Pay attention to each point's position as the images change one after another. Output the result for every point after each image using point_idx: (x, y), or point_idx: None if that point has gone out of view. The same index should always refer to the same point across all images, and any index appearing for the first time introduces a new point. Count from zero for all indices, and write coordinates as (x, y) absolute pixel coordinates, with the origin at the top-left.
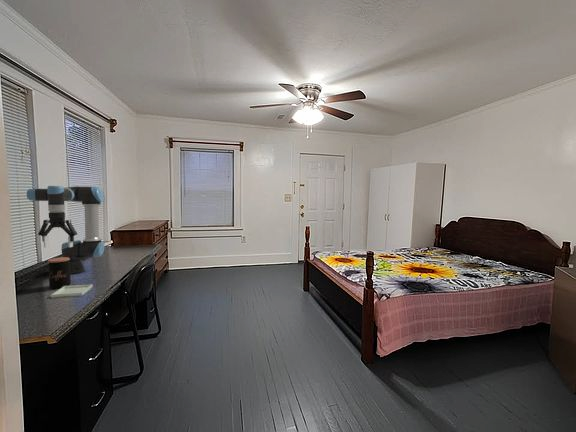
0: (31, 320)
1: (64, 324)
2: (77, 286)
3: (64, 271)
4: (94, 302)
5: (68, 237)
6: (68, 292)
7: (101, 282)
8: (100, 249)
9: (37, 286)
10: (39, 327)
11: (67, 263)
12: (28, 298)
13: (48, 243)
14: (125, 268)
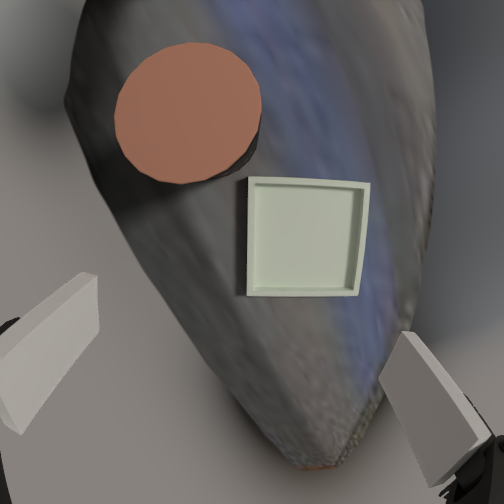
0: (277, 429)
1: (348, 444)
2: (308, 184)
3: (245, 159)
4: None
5: (429, 477)
6: (294, 249)
7: (379, 119)
8: None
9: None
10: (308, 450)
11: (257, 133)
12: (166, 275)
13: (73, 299)
14: None
